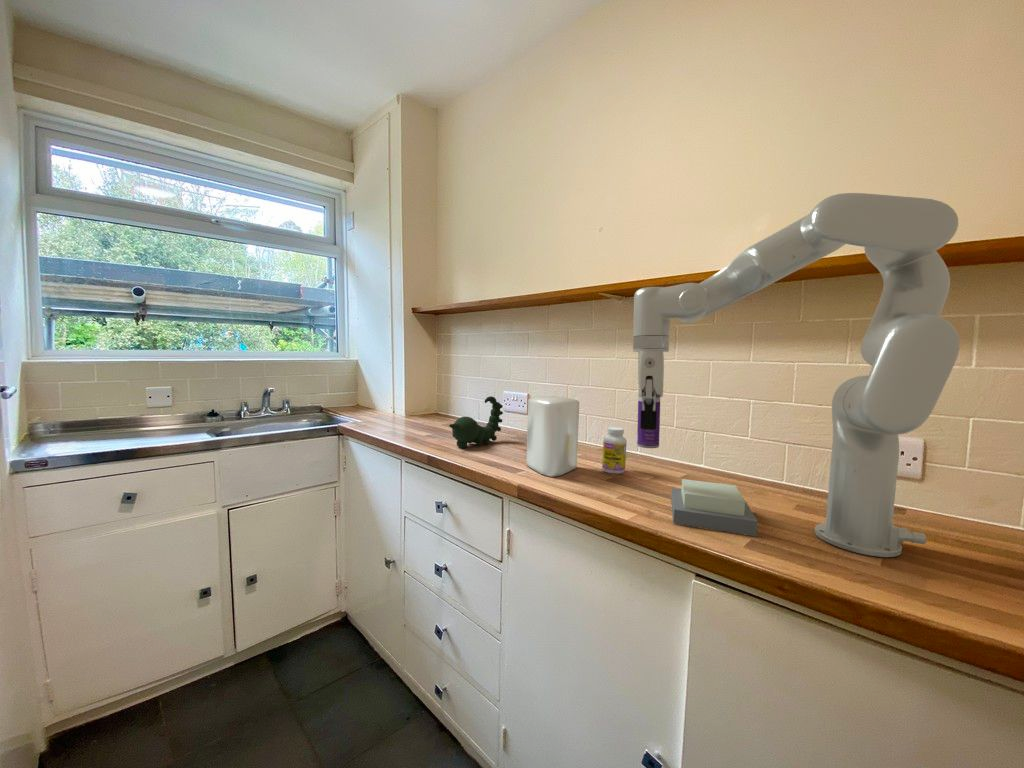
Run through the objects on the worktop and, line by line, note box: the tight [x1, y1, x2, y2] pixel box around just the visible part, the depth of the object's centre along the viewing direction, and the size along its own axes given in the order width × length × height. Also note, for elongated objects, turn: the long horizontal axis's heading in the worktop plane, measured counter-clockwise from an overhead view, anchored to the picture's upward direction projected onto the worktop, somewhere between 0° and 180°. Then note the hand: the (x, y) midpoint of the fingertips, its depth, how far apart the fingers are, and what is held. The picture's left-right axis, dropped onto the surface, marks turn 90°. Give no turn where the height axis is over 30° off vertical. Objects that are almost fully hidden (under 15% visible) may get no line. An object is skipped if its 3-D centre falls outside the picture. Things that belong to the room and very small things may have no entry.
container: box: [636, 379, 661, 449], centre depth 91 cm, size 5×5×15 cm
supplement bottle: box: [601, 426, 628, 475], centre depth 122 cm, size 7×7×13 cm
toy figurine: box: [448, 395, 504, 449], centre depth 151 cm, size 9×19×25 cm
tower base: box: [670, 478, 759, 537], centre depth 88 cm, size 15×15×6 cm
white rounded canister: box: [525, 395, 580, 478], centre depth 120 cm, size 15×14×22 cm
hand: (648, 426), depth 91 cm, fingers closed on container, 4 cm apart
